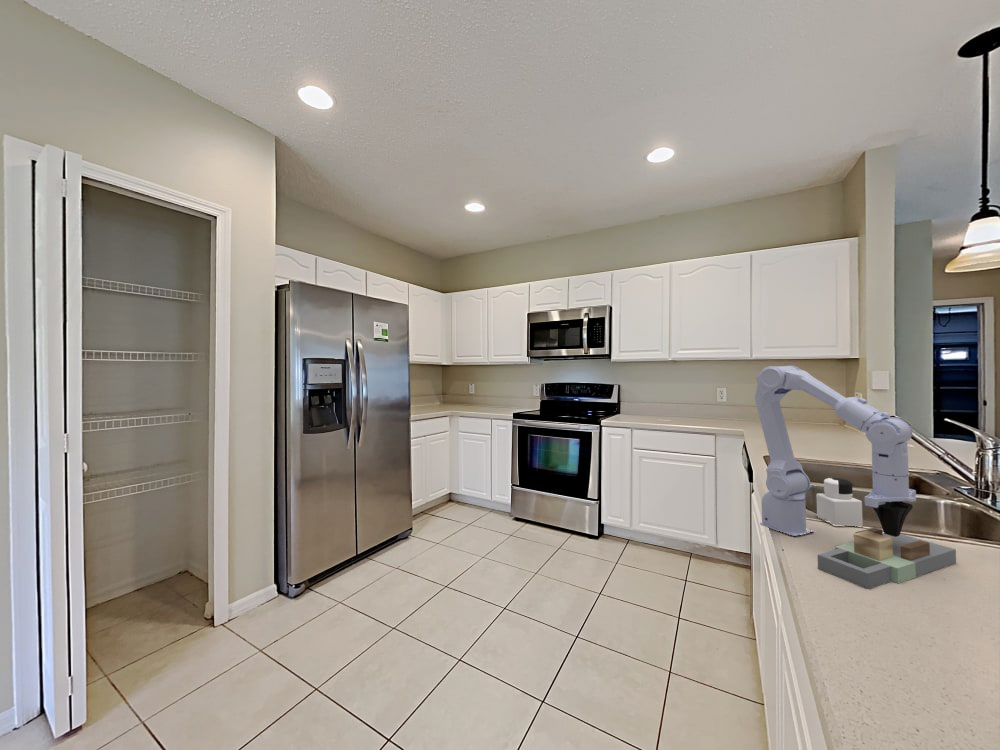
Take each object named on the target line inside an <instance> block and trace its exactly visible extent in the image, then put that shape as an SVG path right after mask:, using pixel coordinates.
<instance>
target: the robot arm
mask: <svg viewBox="0 0 1000 750" xmlns="http://www.w3.org/2000/svg"><path fill="white" fill-rule="evenodd" d="M755 380H756V382H757V387H756V390H755V396H754V401H755V405H756V408H757V412H758V416H759V421H760V425H761V428H762V433H763V436H764V440H765V444H766V447H767V452H768V455H769V459H770V462H769V464H768V465H767V467H766V470H765V471H766V480H765V486H766V489H767V491H768V492H765V494H764V495H762V498H761V522H760V524H759V525H760V526H762V527H765V528H769V529H772V530H774V531H777V532H779V531H780V532H779V533H782V532H784V533H783V534H785V533H787V534H786V535H788V534H790V535H793V536H797V535H800V534H804V533H808V532H811V530H810V531H808V532H807V530H806V528H807V512H806V510H807V509H806V492H807V491H809V489H810V488H811V480H810V478H809V476H808V475H807V474H806V473H805V471H804V469H803V465H802V464H801V463H800V462H799V461H798V460H796V459H795V455H794V451H793V449H792V444H791V441H790V436H789V432H788V429H787V425H786V422H785V418H784V414H783V410H782V406H781V403H780V401H782V400H783V399H784V398H785V396H786V395H787V394H788V393H789V392H791V391H793V390H794V391H803V392H805V393H806V394H808V395H810V396H812V397H814V398H815V399H817V400H818V401H821V402H822V403H824V404H826V405H828V406H830V407H832V408H833V409H834V413H835V415H836V417H838V418H840V419H841V420H842V421H845V422H846V423H848V424H849V425H851V426H853V428H856V429H857V430H859V431H860V432H861V433H864V434H865V437H866V439H867V440H868V442H870V444H871V468H872V469H871V470H872V471H871V472H872V475H871V476H872V477H871V478H872V490H871V491H870V492H869V493H868V494H867V495H864V506H867V507H871V508H872V509H873V510H874V512H875V513H876V515H877V518H878V520H879V522H880V525H881V528H882V531H883V533H884V534H887V535H891V536H894V537H897V536H899V535H900V534H902V533H901V532H902V529H903V525H904V522H905V521H906V519H907V516H908V515H909V513H910V512H911V511H912V510H913V507H914V506H913V504H912V503H913V502H917V490H916V489H912V488H909V487H910V483H909V482H910V480H909V453H908V441H910V440H911V438H912V436H913V429H912V427H911V425H910V424H909V423H908V422H906V421H905V419H903V418H900V417H897V416H896V417H895V416H894V417H892V416H891V417H890V415H891V414H890V413H889V412H887V411H880V410H879V409H877V408H875V407H873V406H872V405H870V404H868V400H867V399H865V398H863V397H856V396H849V397H846V396H844V395H843V394H841V393H839V392H837V390H835V389H832V388H831V387H830V386H828V385H827V384H825V383H824V382H822V381H820V380H819V379H817V378H815V377H814V376H812V375H811V374H810V373H809V372H807V371H806V370H803V369H800V368H799V367H798V366H795V365H790V364H789V365H784V366H783V365H782V366H780V365H779V366H776V365H775V366H774V365H769V366H766V367H764V368H763V369H762V370H761V371H759V374H758V375H757V376H756V378H755ZM907 502H908V503H907ZM911 502H912V503H911ZM813 530H814V529H812V531H813ZM790 535H789V536H790ZM793 536H792V537H793ZM797 537H798V536H797Z"/></svg>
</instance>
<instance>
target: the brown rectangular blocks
mask: <svg viewBox="0 0 1000 750" xmlns="http://www.w3.org/2000/svg"><path fill="white" fill-rule="evenodd" d="M863 531H870V532H873V533H877V534H880V535H883V533H884V531H883V529H881V528H877V527H875V526H873V527H871V528H867V529H862V530H859V531H856V532H855V533H859V532H863ZM855 533H854V534H855ZM921 540H922V539H921ZM921 540H919V541H916V542H912V543H909V544H906V545H902V546H901V558H903V559H906V560H909V561H912V560H915V559H918V558H921V557H924V556H927V555H930V545H929V543H928V542H929V541H928V542H924V541H925V540H924V541H921Z"/></svg>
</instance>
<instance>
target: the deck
mask: <svg viewBox="0 0 1000 750" xmlns="http://www.w3.org/2000/svg"><path fill="white" fill-rule="evenodd" d="M883 536H887V537H890V538H892V540H893V557H892V558H889V559H885V560H882V561H878V560H875V559H872V558H869V557H866V556H864V555H861V554H858V553H855V552H854V541H851V542H848V543H843V544H839V545H837V546H834V549H832V550H830V551H829V550H828V551H826V552H821V553H818V554H817V569H818V570H820V571H823V572H826V573H829V574H831V575H833V576H835V577H838V578H840V579H844V580H845V581H848V582H851V583H853V584H855V585H858V586H860V587H863V588H865V589H868V590H870V589H874V588H875V587H878V586H880V585H885V584H887V583H890V582H894V583H896V584H900V583H903V582H905V581H909V580H911V579H914V578H917V577H920V576H923V575H926V574H929V573H932V572H935V571H937V570H940V569H943V568H946V567H950V566H952V565H955V564H957V551H956V549H955V548H952V547H949V546H945V545H942V544H938V543H934V542H931V541H927V540H924V539H921V538H916V537H913V536H909V535H906V534H903V533H900V535H899V536H897V537H894V536H891V535H887V534H884V532H883ZM919 540H921V541H924V542H928V543H929V545H930V555H927V556H924V557H921V558H918V559H915V560H912V561H909V560H906V559H903V558H901V546H902V545H906V544H909V543H912V542H916V541H919Z"/></svg>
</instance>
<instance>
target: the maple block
mask: <svg viewBox="0 0 1000 750" xmlns="http://www.w3.org/2000/svg"><path fill="white" fill-rule="evenodd" d="M858 532H859V531H858ZM853 542H854V552H855V553H858V554H861V555H864V556H866V557H869V558H872V559H875V560H878V561H882V560H885V559H889V558H892V557H893V540H892V538H890V537H887V536H883V535H880V534H877V533H873V532H870V531H863V532H859V533H853Z"/></svg>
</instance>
